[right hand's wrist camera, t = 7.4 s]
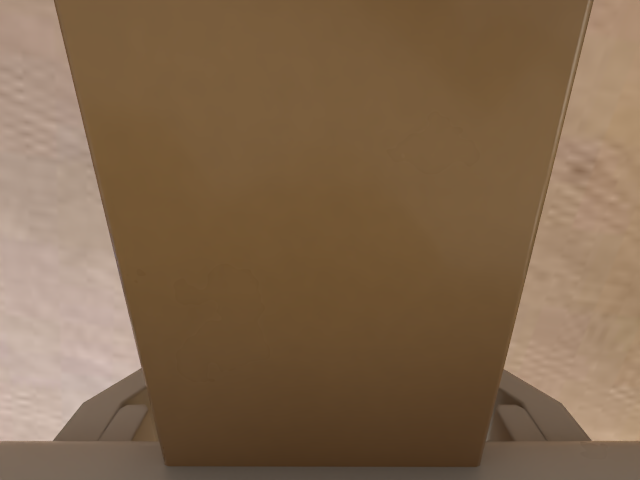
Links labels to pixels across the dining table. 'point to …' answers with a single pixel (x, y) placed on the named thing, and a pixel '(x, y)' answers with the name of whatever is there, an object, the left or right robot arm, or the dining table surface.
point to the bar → (323, 212)
